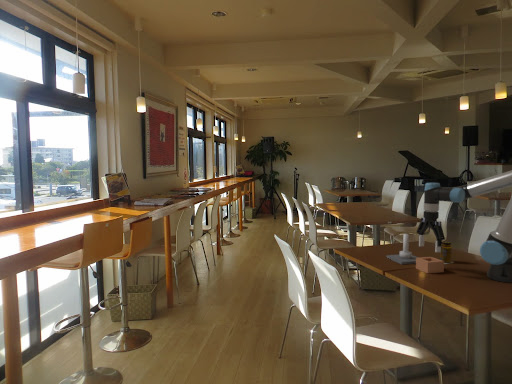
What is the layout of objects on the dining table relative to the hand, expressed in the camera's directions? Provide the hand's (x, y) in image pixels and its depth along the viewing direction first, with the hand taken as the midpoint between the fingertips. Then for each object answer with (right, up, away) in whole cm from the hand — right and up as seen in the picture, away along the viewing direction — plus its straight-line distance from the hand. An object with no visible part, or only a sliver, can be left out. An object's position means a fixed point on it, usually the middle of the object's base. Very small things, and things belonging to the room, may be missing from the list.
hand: (429, 249), depth 206 cm
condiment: (+17, -11, +18) cm, 27 cm away
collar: (0, -12, +1) cm, 12 cm away
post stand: (-4, -10, +22) cm, 25 cm away
